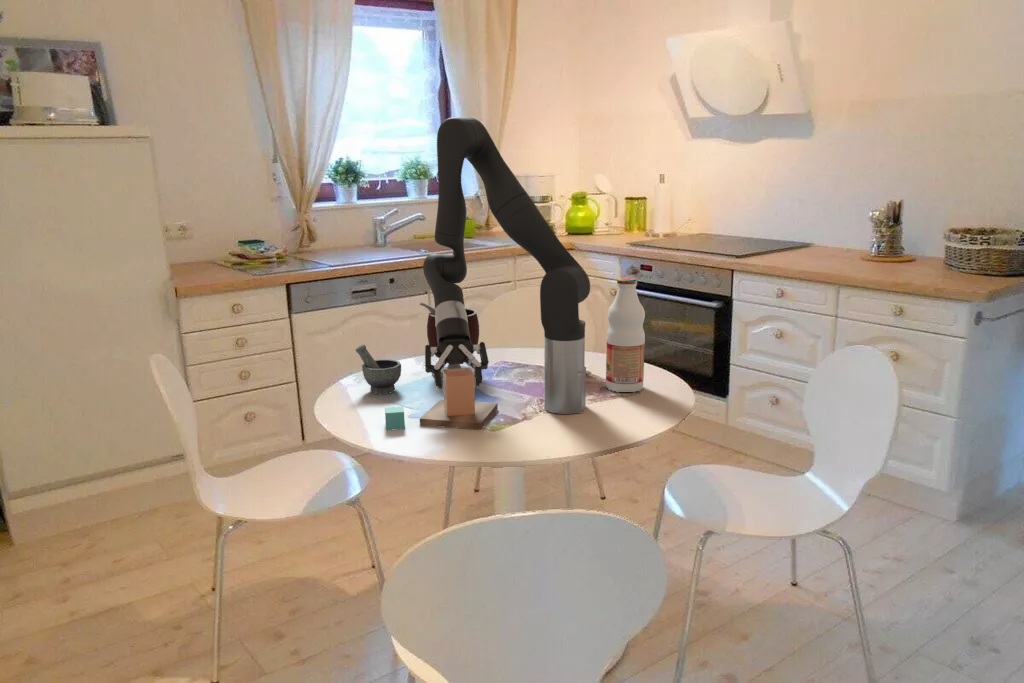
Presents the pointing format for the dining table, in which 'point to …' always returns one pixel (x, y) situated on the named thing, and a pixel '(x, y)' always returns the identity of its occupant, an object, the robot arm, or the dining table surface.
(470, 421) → the walnut board
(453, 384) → the tall tan upright block
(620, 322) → the fruit juice
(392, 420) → the teal block
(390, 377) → the mortar and pestle
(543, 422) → the dining table surface
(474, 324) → the mate gourd
